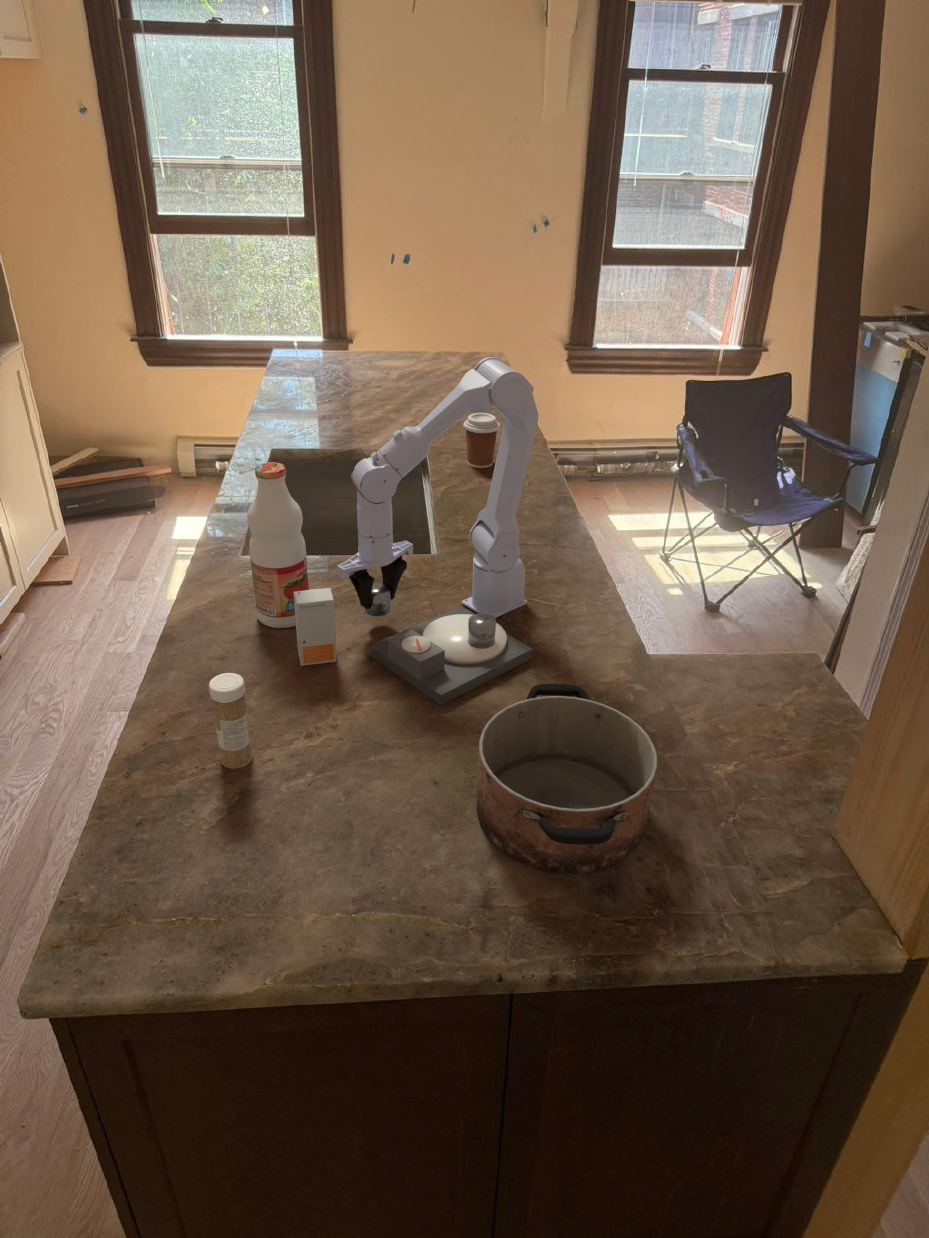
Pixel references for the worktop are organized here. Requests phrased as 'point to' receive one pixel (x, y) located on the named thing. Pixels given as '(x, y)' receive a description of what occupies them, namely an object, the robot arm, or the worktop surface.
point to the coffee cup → (481, 439)
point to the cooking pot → (564, 781)
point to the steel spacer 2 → (481, 631)
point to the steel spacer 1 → (379, 600)
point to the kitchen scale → (448, 656)
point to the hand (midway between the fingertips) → (377, 601)
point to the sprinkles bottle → (231, 720)
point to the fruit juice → (276, 548)
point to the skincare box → (315, 626)
